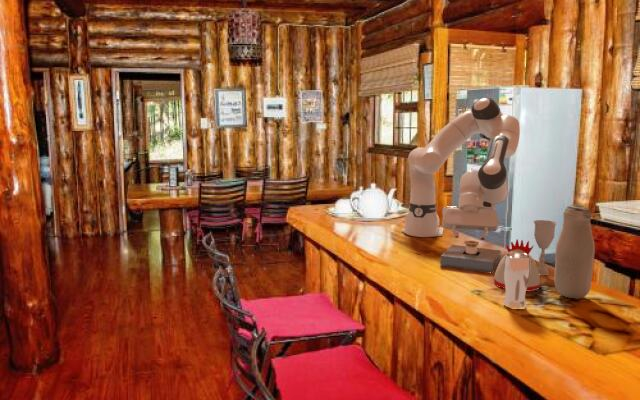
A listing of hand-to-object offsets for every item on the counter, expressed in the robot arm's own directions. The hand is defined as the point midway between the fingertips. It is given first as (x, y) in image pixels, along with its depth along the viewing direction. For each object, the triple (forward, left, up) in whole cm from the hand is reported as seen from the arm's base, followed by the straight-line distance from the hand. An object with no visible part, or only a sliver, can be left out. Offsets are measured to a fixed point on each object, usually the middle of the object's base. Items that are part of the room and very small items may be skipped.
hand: (469, 238), depth 195 cm
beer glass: (+41, +21, -9) cm, 47 cm away
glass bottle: (+25, +35, -9) cm, 44 cm away
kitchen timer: (+20, +19, -9) cm, 29 cm away
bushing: (+2, +1, -9) cm, 9 cm away
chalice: (+3, +25, -9) cm, 27 cm away
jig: (+2, +1, -9) cm, 9 cm away
